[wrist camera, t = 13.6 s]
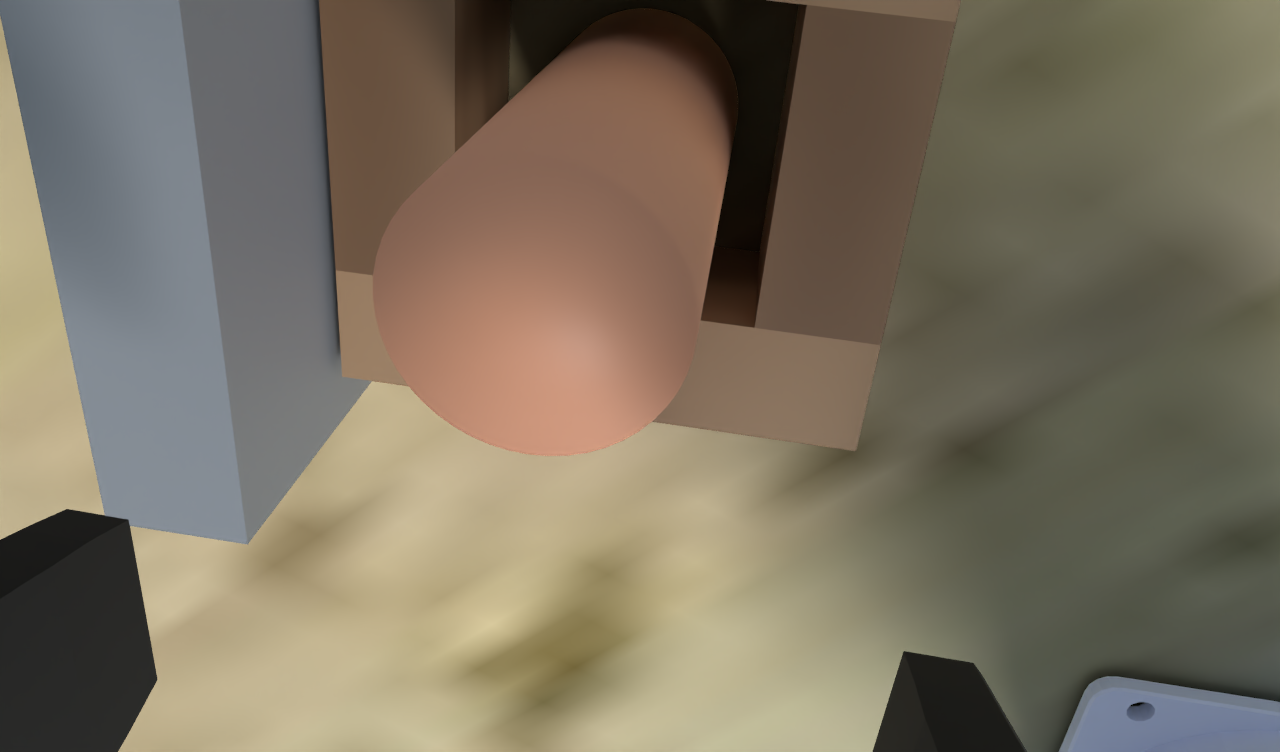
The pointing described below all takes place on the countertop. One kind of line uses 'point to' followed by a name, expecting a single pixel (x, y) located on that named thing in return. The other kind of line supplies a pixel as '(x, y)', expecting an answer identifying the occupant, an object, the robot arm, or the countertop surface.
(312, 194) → the backstop wall
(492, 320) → the dowel
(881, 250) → the block
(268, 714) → the countertop surface
